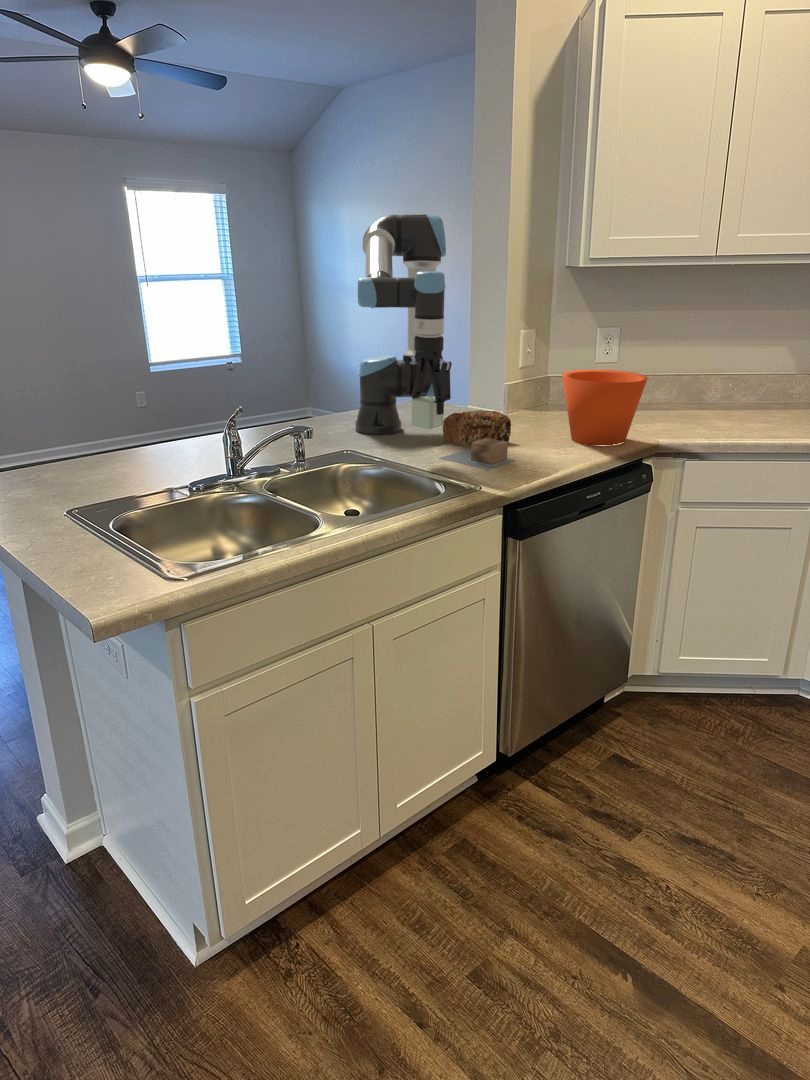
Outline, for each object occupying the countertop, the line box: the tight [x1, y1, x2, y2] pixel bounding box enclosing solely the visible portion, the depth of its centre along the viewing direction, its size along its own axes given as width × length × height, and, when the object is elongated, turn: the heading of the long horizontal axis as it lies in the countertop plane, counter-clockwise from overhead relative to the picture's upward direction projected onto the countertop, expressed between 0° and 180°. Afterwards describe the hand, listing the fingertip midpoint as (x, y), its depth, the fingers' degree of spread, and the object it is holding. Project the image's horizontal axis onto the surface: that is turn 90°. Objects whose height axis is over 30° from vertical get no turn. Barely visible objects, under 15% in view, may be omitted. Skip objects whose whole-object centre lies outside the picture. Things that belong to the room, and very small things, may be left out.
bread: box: [442, 409, 512, 447], centre depth 225 cm, size 19×11×10 cm, turn 115°
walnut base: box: [470, 438, 509, 465], centre depth 202 cm, size 7×7×5 cm
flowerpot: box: [561, 369, 649, 446], centre depth 227 cm, size 25×25×20 cm
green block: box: [411, 396, 445, 430], centre depth 198 cm, size 6×6×7 cm
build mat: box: [437, 449, 517, 471], centre depth 204 cm, size 17×13×1 cm
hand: (427, 423), depth 199 cm, fingers closed on green block, 6 cm apart
